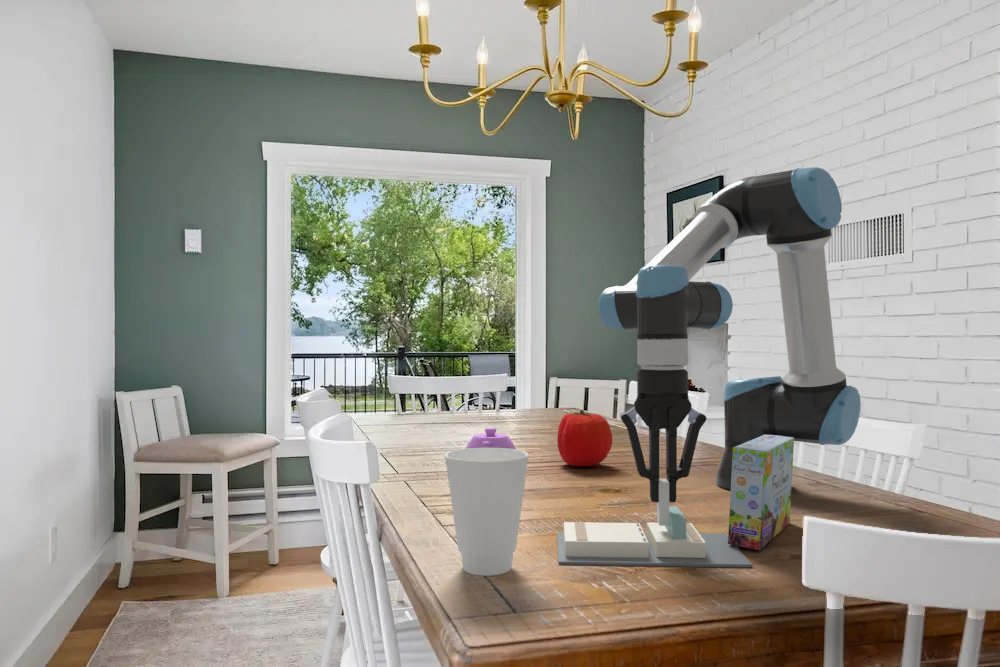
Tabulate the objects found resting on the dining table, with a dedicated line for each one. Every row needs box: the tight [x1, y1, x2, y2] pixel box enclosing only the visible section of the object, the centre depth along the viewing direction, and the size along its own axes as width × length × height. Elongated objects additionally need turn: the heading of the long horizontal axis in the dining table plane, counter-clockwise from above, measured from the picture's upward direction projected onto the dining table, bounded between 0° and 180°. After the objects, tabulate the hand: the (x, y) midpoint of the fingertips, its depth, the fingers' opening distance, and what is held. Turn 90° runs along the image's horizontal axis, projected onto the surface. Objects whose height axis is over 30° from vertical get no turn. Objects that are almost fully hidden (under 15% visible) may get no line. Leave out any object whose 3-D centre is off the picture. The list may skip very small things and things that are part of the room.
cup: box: [444, 448, 530, 577], centre depth 105 cm, size 12×12×16 cm
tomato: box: [556, 409, 613, 468], centre depth 184 cm, size 16×14×14 cm
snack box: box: [727, 435, 795, 551], centre depth 121 cm, size 21×6×15 cm, turn 148°
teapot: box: [465, 427, 517, 450], centre depth 177 cm, size 14×20×11 cm
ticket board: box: [556, 521, 753, 568], centre depth 114 cm, size 27×16×3 cm, turn 86°
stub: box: [646, 505, 706, 558], centre depth 114 cm, size 7×11×5 cm, turn 176°
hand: (663, 523), depth 114 cm, fingers closed
